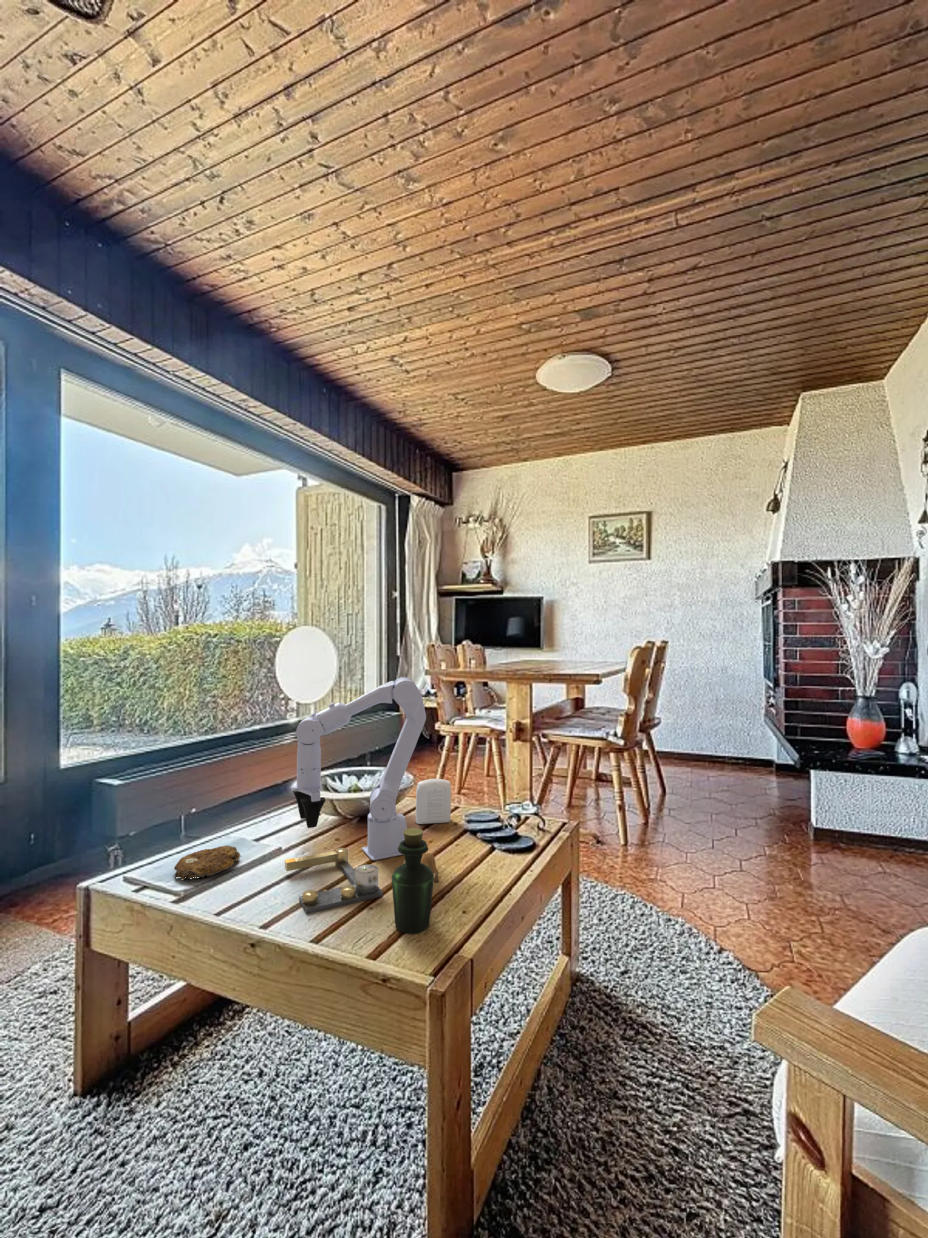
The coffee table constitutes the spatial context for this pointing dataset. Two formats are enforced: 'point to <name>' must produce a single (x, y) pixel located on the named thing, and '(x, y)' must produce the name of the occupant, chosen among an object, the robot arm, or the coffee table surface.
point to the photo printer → (433, 801)
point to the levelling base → (335, 894)
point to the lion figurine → (429, 864)
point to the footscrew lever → (317, 859)
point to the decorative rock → (206, 862)
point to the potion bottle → (412, 885)
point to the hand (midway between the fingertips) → (308, 822)
